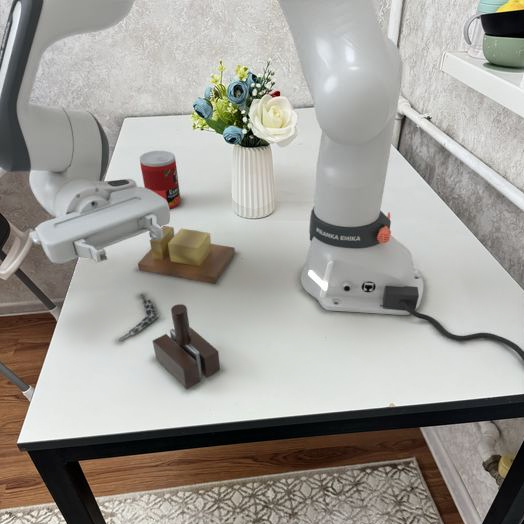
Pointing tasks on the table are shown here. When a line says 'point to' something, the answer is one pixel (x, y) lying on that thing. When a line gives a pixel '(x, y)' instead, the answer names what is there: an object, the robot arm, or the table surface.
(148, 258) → the butter board
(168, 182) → the canned food
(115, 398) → the table surface
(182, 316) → the butter cutter
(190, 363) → the knife block
